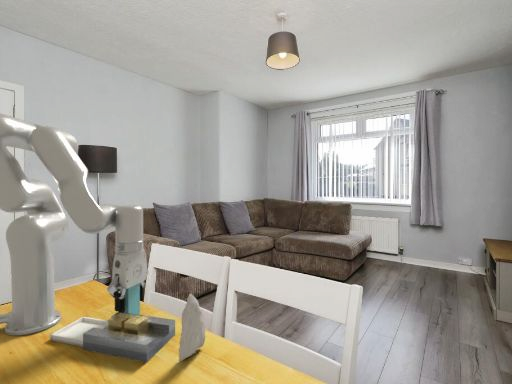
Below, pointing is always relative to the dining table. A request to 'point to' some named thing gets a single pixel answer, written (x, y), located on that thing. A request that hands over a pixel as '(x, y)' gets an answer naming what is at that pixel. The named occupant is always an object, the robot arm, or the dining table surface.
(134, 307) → the teal rectangular block
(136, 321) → the gold cube
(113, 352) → the slot board
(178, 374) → the dining table surface
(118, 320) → the chip
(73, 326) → the tray
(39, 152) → the robot arm
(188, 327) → the stone tool
